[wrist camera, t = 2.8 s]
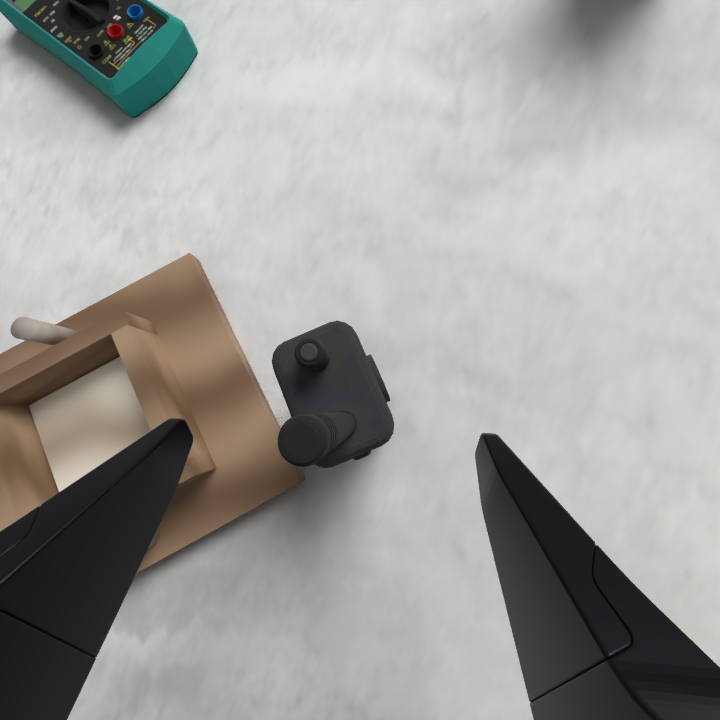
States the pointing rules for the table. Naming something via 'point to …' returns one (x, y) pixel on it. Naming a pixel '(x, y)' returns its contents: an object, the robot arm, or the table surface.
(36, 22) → the digital multimeter
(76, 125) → the table surface
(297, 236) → the table surface
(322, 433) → the walkie-talkie
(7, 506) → the wooden frame board
